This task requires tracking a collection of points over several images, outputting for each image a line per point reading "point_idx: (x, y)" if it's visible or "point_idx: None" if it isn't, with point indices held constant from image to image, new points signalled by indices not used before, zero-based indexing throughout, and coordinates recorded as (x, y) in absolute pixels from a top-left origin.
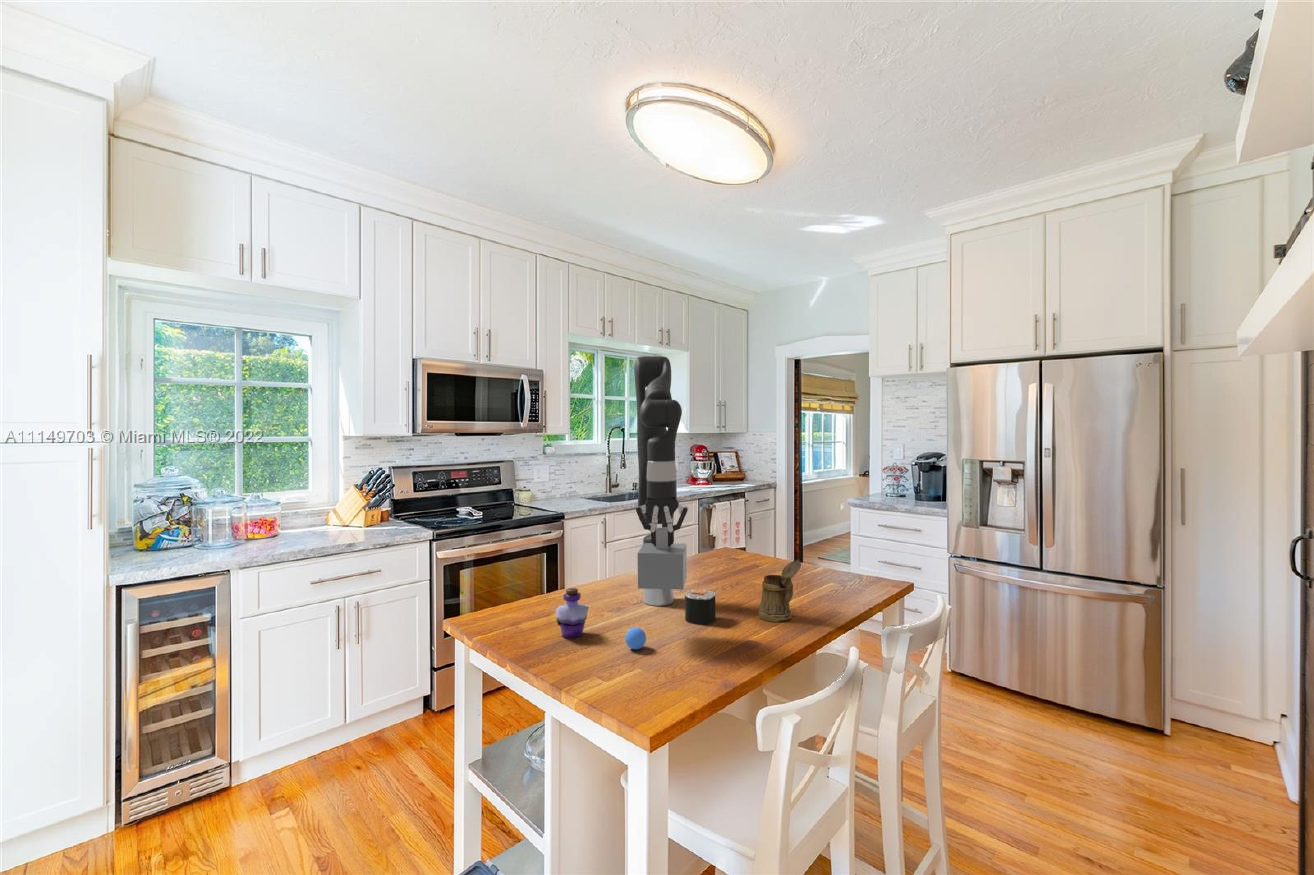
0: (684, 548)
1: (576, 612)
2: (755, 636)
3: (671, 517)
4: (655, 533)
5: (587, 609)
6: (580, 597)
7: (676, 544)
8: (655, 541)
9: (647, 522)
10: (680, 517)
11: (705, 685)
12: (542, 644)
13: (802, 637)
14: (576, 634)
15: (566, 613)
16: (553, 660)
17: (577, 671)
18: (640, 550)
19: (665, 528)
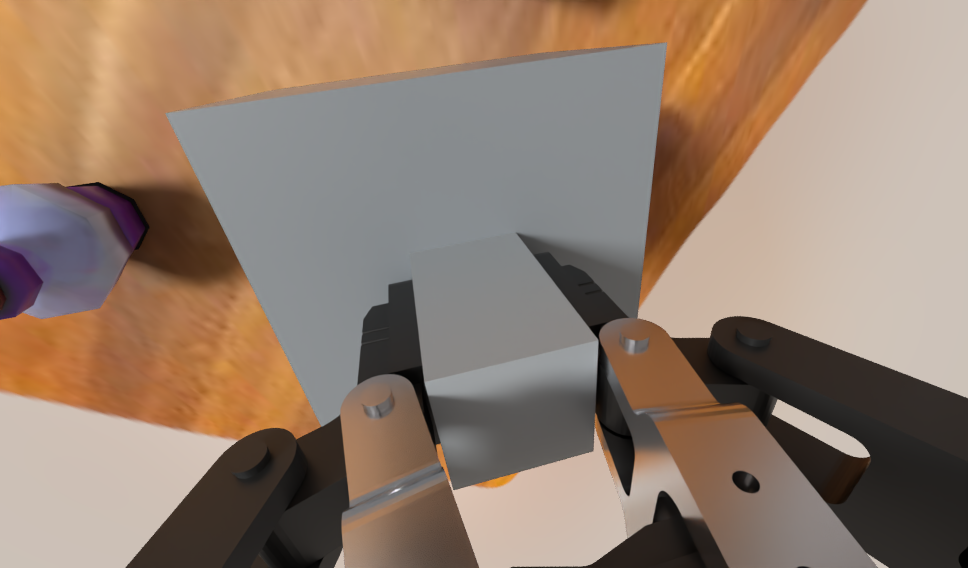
0: (643, 252)
1: (97, 296)
2: (685, 71)
3: (759, 486)
4: (435, 434)
5: (100, 236)
6: (19, 258)
7: (569, 111)
8: None
9: (259, 539)
10: (894, 557)
11: None
12: (77, 313)
13: (807, 46)
14: (135, 246)
15: (65, 314)
16: (207, 381)
17: (304, 402)
18: (319, 399)
19: (558, 402)
